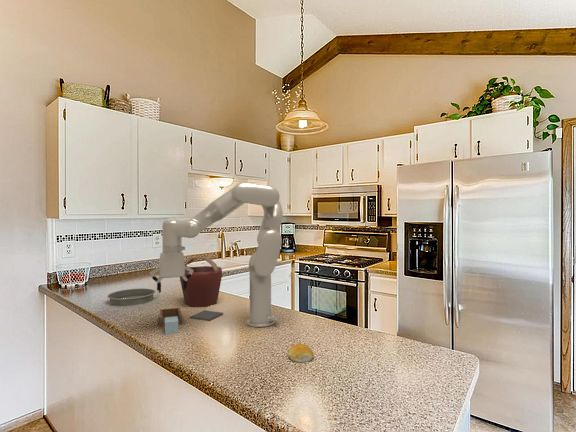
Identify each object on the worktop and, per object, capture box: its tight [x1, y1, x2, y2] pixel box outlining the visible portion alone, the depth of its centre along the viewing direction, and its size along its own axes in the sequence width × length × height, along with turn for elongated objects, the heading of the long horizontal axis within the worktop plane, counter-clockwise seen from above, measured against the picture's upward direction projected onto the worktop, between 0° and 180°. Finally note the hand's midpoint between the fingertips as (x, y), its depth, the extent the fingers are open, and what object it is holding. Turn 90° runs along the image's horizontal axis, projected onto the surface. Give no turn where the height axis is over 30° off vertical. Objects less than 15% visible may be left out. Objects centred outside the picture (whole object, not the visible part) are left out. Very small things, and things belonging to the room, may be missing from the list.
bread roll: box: [287, 343, 315, 363], centre depth 111 cm, size 8×9×4 cm
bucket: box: [179, 256, 223, 308], centre depth 180 cm, size 24×22×25 cm
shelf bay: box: [159, 307, 183, 328], centre depth 149 cm, size 15×9×4 cm, turn 22°
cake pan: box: [106, 288, 156, 307], centre depth 185 cm, size 25×25×4 cm
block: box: [164, 316, 179, 336], centre depth 136 cm, size 7×5×5 cm
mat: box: [189, 309, 224, 322], centre depth 156 cm, size 11×11×1 cm
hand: (172, 291), depth 137 cm, fingers open, 9 cm apart
